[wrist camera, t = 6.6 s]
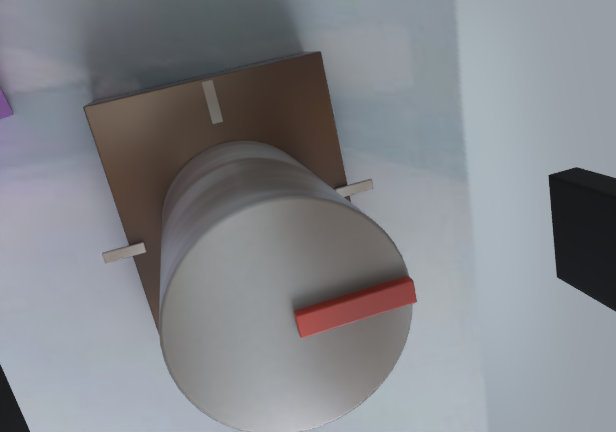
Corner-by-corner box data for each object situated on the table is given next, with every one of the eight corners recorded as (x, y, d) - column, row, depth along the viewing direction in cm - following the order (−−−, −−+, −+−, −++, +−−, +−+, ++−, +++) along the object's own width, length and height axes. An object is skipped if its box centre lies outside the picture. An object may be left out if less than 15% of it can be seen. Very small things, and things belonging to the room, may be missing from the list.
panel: (66, 106, 20) (52, 113, 18) (326, 46, 22) (347, 45, 19) (149, 348, 23) (147, 382, 21) (372, 280, 25) (395, 304, 23)
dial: (187, 311, 21) (201, 479, 12) (141, 163, 19) (121, 243, 11) (333, 268, 22) (436, 397, 13) (301, 123, 20) (396, 168, 12)
